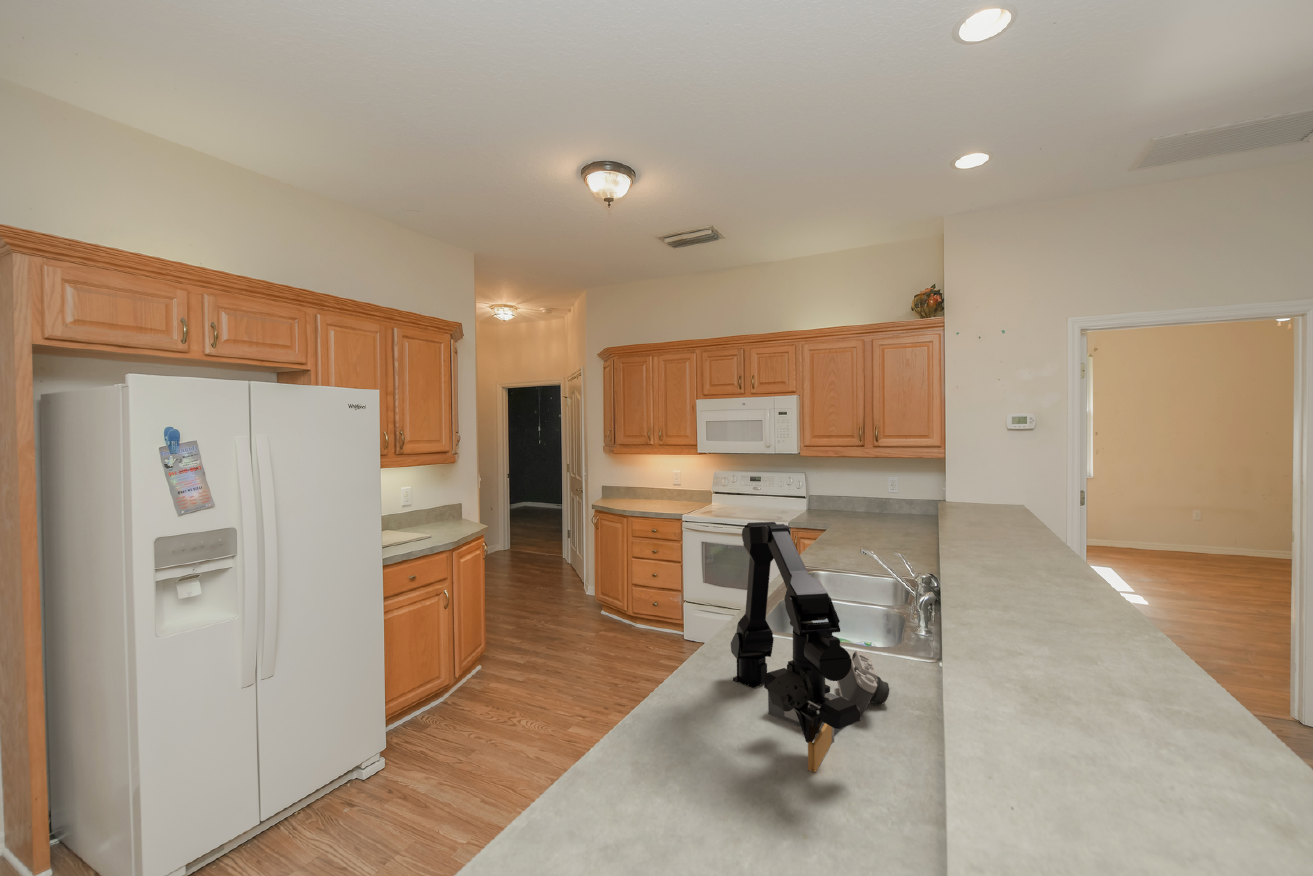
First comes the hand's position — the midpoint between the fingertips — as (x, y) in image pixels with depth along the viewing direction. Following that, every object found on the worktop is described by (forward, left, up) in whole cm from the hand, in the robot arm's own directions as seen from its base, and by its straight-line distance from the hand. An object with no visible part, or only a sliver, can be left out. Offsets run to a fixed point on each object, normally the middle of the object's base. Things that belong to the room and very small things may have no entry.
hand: (809, 742), depth 103 cm
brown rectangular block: (+2, +1, -2) cm, 3 cm away
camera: (-1, +26, -3) cm, 26 cm away
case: (-7, +11, -2) cm, 13 cm away
